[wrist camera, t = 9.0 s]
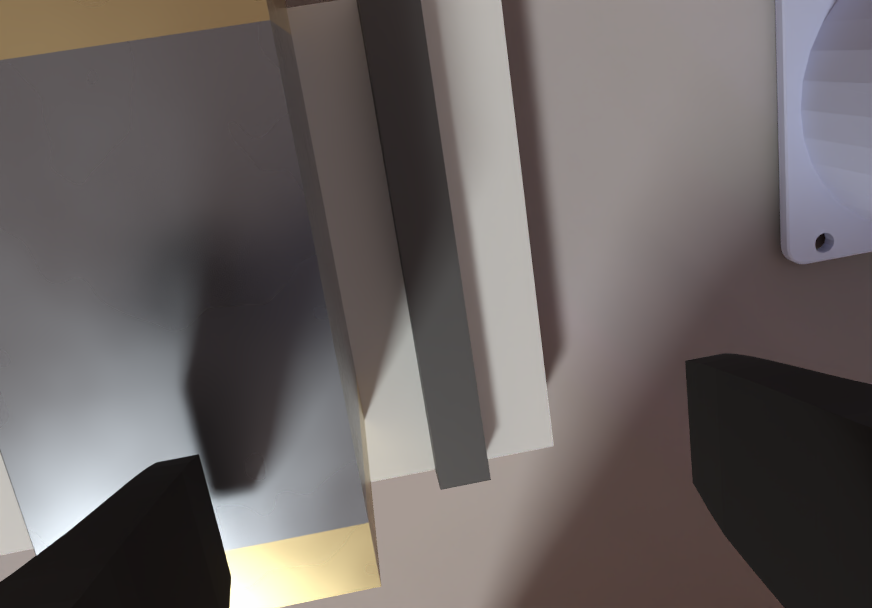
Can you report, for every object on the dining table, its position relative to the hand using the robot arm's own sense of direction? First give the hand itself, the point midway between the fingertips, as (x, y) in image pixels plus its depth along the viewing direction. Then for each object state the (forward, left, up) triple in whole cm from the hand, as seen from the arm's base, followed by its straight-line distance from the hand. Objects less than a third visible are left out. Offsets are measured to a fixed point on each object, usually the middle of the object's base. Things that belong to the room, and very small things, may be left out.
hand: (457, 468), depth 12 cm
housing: (+4, -3, -7) cm, 9 cm away
